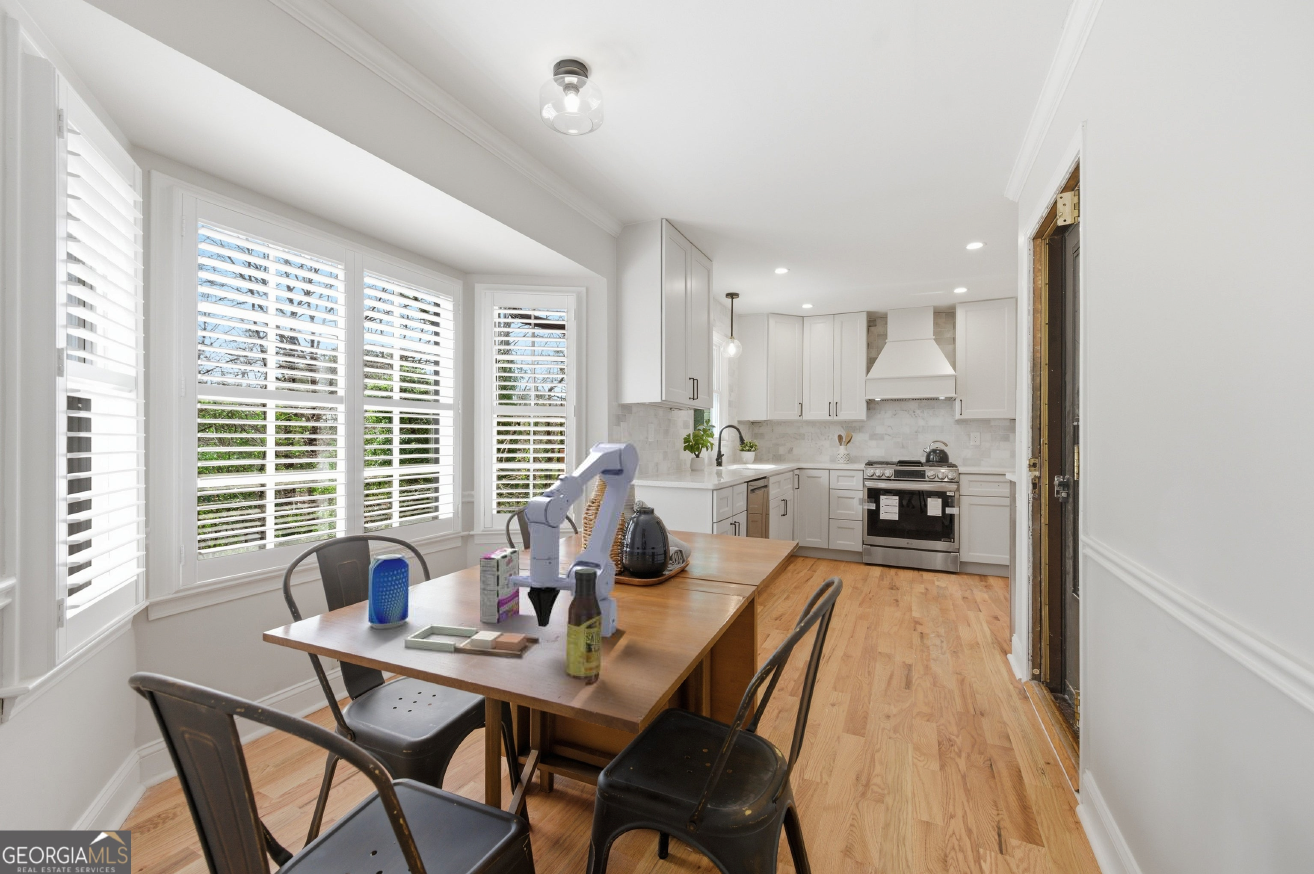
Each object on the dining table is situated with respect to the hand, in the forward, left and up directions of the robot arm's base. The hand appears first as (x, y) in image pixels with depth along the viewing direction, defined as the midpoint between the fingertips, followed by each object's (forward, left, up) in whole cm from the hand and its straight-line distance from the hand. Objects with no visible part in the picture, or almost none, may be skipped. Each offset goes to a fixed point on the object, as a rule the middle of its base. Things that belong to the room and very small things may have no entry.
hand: (543, 625), depth 113 cm
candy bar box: (+19, -19, -7) cm, 27 cm away
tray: (+22, 0, -7) cm, 23 cm away
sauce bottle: (-11, +7, -7) cm, 15 cm away
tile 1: (+12, 0, -5) cm, 14 cm away
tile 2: (+7, 0, -5) cm, 9 cm away
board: (+10, 0, -7) cm, 12 cm away
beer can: (+43, -11, -7) cm, 45 cm away
